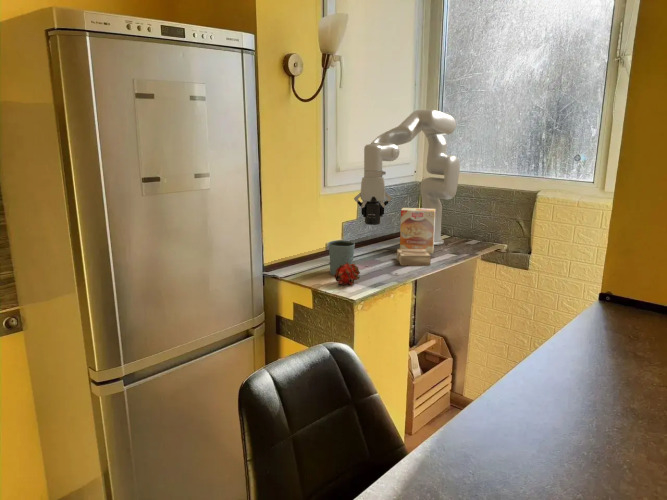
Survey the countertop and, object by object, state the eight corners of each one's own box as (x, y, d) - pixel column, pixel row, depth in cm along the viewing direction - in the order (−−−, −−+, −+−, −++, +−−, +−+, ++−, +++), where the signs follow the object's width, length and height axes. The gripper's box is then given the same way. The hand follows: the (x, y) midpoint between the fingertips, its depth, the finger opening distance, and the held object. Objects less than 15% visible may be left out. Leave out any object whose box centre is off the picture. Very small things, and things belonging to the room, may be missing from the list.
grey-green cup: (325, 270, 208) (325, 241, 205) (348, 268, 211) (348, 239, 208) (334, 277, 198) (334, 246, 195) (358, 274, 202) (358, 244, 199)
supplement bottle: (369, 225, 218) (369, 197, 216) (361, 222, 225) (361, 195, 222) (383, 224, 221) (383, 196, 218) (375, 221, 227) (376, 194, 224)
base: (396, 258, 226) (397, 248, 225) (424, 257, 226) (424, 248, 225) (401, 265, 214) (401, 255, 213) (430, 265, 215) (430, 255, 214)
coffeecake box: (399, 252, 236) (400, 209, 232) (401, 248, 243) (402, 207, 238) (433, 254, 233) (434, 210, 228) (433, 250, 240) (435, 208, 235)
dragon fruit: (359, 284, 195) (339, 296, 187) (343, 268, 198) (323, 280, 189) (368, 269, 190) (348, 281, 181) (352, 253, 192) (332, 265, 184)
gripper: (392, 173, 222) (391, 214, 226) (351, 173, 221) (351, 215, 225) (395, 175, 214) (394, 217, 219) (352, 175, 214) (353, 218, 218)
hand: (372, 216), depth 222 cm, fingers closed on supplement bottle, 6 cm apart
